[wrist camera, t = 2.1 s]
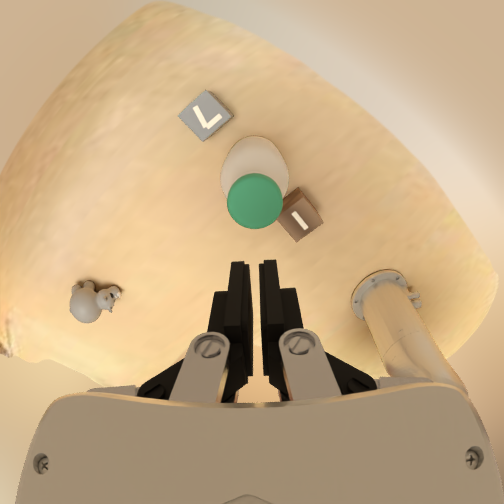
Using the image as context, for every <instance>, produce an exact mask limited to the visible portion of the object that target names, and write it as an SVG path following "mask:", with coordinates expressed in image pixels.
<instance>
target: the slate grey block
mask: <svg viewBox="0 0 504 504" xmlns="http://www.w3.org/2000/svg"><path fill="white" fill-rule="evenodd" d="M233 116H234V115H233V114H232V113H231V112H230V111H229V110H228V109H227V108H226V107H225V106H224V105H223V104H222V103H221V102H220V101H219V100H218V98H217V97H216V96H215V95H214V94H213V93H212V92H210V91H207V90H205V91H204V92H203V93H201V94H200V95H199V96H198V97H197V98H196V99H195V100H194V101H193V102H192V103H190V104H189V105H188V106H187V107H186V108H185V109H184V110H183V111H182V112H181V113H180V114H179V115H178V117H179V118H180V119H181V120H182V121H183V122H184V123H185V124H186V125H187V126H188V127H189V128H190V129H191V130H192V131H193V132H194V133H195V134H196V135H197V136H198V137H199V139H200V140H201V141H202V142H203V141H205V140H206V139H208V138H209V137H210V136H211V135H213V134H214V133H215V132H216V131H217V130H218V129H219V128H221V127H222V126H223V125H224V124H225V123H226V122H228V121H229V120H230V119H231V118H232V117H233Z"/></svg>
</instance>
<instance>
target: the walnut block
mask: <svg viewBox="0 0 504 504" xmlns="http://www.w3.org/2000/svg"><path fill="white" fill-rule="evenodd" d="M276 220H277V221H278V222H279V223H280V224H281V225H282V226H283V228H284V229H285V230H286V231H287V232H288V233H289V235H290V236H291V237H292V238H293V239H294V240H295V242H298V241H299V240H300V239H302V238H303V237H305V236H306V235H307V234H309V233H310V232H312V231H313V230H314V229H316V228H317V227H318V226H320V225H321V224H323V221H322V219H321V217H320V216H319V214H318V212H317V210H316V209H315V208H314V207H313V205H312V204H311V203H310V201H309V200H308V199H307V198H306V196H305V195H304V194H303V193H302V191H301V190H300V189H299V188H297V189H295V190H294V191H293V192H291V193H290V194H289V195H288V196H286V197H285V198H284V199H283V207H282V210H281V213H280V215H279V216H278V218H277V219H276Z"/></svg>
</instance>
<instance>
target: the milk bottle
mask: <svg viewBox="0 0 504 504" xmlns="http://www.w3.org/2000/svg"><path fill="white" fill-rule="evenodd" d="M220 181H221V188H222V191H223V193H224V195H225V197H226V199H227V207H228V211H229V213H230V215H231V217H232V218H233V219H234V220H235V221H236V222H237V223H238V224H240V225H241V226H243V227H246V228H250V229H259V228H264V227H266V226H269V225H270V224H272V223H273V222H274V221H275V220H276V219H277V218H278V216H279V215H280V213H281V210H282V207H283V198H284V196H285V194H286V192H287V189H288V184H289V173H288V169H287V166H286V163H285V161H284V159H283V157H282V155H281V154H280V152H279V150H278V149H277V147H276V146H275V145H274V144H273V143H272V142H271V141H269V140H268V139H266V138H263V137H260V136H249V137H245V138H243V139H241V140H239V141H238V142H237V143H236V144H235V145H234V146H233V147H232V149H231V150H230V152H229V154H228V155H227V157H226V159H225V161H224V164H223V166H222V170H221V176H220Z"/></svg>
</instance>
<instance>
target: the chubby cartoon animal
mask: <svg viewBox="0 0 504 504" xmlns="http://www.w3.org/2000/svg"><path fill="white" fill-rule="evenodd" d="M94 288H95V286H94V283H93V282H91V281H86V282H85V283H84V286H83V288H82V287H81V286H80V285H74V286H73V287H72V297H71V299H70V312H71V313H72V315H73V316H74V317H75V318H76V319H77V320H78V321H80V322H82V323H92V322H94V321H96V320H97V319H98V318H99V316H100V314H101V312H102V309H105V310H109V311H110V312H111V313H112V310H111V309H112V307H113V306H114V302H115V300H116V299H117V298H118V297H119V298H120V297H121V293H120V290H119V289H118V288H117V287H116V286H111V287H110V288H108V289H102V290H100V291H99V292H98V293H96V292H95V291H94Z"/></svg>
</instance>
